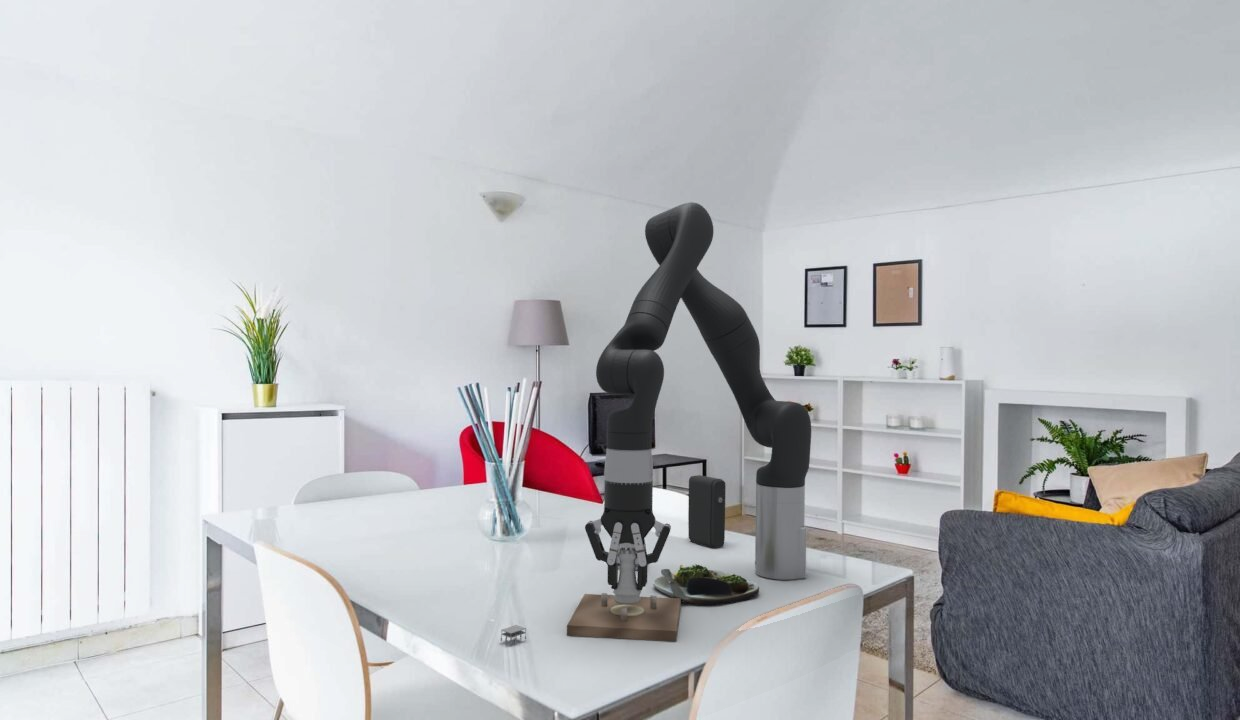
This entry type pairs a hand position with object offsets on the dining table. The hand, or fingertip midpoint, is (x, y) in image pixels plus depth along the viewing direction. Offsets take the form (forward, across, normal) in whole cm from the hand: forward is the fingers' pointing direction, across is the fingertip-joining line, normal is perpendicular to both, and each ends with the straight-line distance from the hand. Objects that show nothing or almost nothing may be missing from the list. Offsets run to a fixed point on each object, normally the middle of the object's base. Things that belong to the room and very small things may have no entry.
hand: (627, 587), depth 121 cm
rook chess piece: (+2, 0, 0) cm, 2 cm away
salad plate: (+6, -12, -18) cm, 22 cm away
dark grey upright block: (+5, -12, -55) cm, 56 cm away
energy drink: (+5, +3, -32) cm, 32 cm away
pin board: (+5, 0, 0) cm, 5 cm away
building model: (+5, +15, +12) cm, 20 cm away
